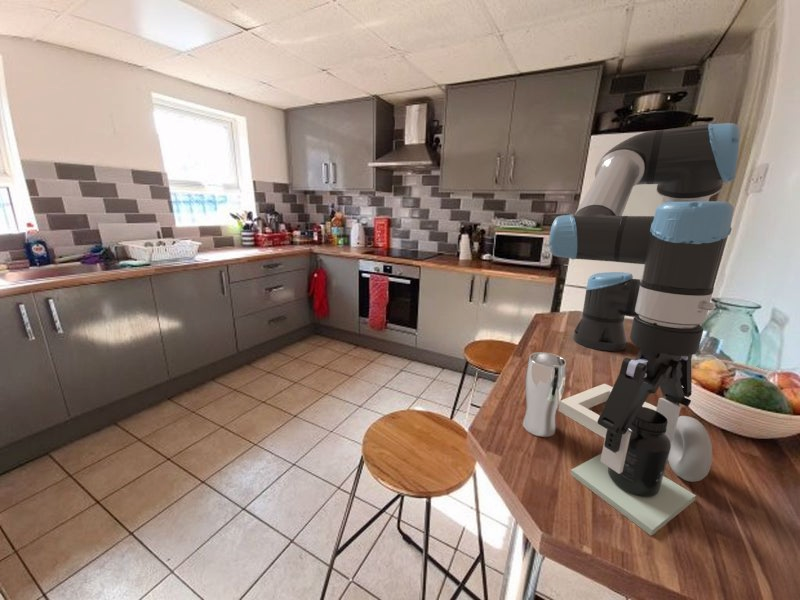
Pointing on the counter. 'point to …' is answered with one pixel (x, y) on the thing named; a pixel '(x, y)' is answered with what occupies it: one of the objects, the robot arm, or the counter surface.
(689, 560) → the counter surface
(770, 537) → the counter surface
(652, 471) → the supplement bottle
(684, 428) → the donut
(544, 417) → the beer glass
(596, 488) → the mat
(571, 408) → the holder
